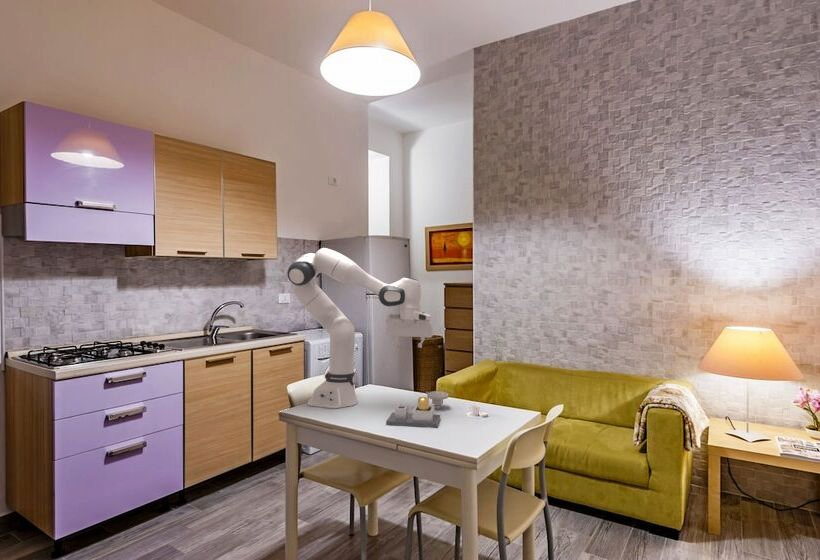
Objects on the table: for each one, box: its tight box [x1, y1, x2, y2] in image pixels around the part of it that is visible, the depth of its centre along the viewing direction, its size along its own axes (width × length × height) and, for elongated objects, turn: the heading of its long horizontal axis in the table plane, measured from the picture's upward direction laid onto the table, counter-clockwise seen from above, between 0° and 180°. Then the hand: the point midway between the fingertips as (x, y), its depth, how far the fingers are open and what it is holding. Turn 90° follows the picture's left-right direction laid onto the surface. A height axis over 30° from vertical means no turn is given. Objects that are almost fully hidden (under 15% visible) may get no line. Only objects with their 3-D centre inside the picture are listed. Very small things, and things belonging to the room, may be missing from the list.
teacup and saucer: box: [466, 404, 489, 419], centre depth 193 cm, size 9×8×4 cm
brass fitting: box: [417, 396, 430, 411], centre depth 183 cm, size 4×4×8 cm
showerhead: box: [425, 390, 449, 410], centre depth 203 cm, size 9×7×10 cm
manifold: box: [385, 404, 441, 429], centre depth 184 cm, size 20×12×6 cm, turn 80°
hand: (409, 347), depth 198 cm, fingers open, 8 cm apart
